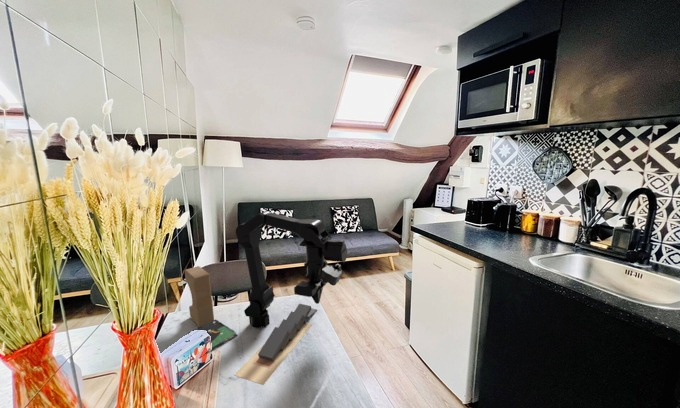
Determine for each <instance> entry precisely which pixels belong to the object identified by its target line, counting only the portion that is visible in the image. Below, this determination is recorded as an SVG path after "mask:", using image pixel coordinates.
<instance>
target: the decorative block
mask: <svg viewBox="0 0 680 408" xmlns="http://www.w3.org/2000/svg"><path fill="white" fill-rule="evenodd" d="M184 276H185V277H184V278H185V282H186V283H187V285H188V287H189V288H188V289H189V290H190V294H191V295H190V296H191V300H192V301H191V302H192V305H190V306H189V307H188V308H189V309H188V310H189V316H190V318H191V320H192V321H193V322H194V323H195V324H196V325H197V327H198V329H199V328H200V327H201V326H203V325H205V324H207V323H209V322H211V321H213V320H215V314H214V305H213V299H212V298H213V297H212V288H211V287H212V286H211V279H210V277H211V276H210V273H208V272H207V271H206V270H205V269H204V268H202V267H201V266H199V265H198V266H195V267H190V268H186V269H185V270H184Z"/></svg>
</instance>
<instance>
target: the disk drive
mask: <svg viewBox="0 0 680 408" xmlns="http://www.w3.org/2000/svg"><path fill="white" fill-rule="evenodd" d="M194 330H195V329H193V330H192V331H194ZM197 330H206V331H207V333H208V334H209V335H210V336H211V343H212V351H214V350H216V349H218V348H220V347H221V346H222V345H224V344H227V343H228V342H229V341H231V340H233V339H235V338H236V337H238V336H239V335H238V334H237V332H235V330H233V329H231V328H230V327H228V326H227V325H225V324H223V323H222V322H221V321H219V320H218V319H215V318H214V320H213V321H211V322H209V323H207V324H205V325H203V326H201V327H200V328H199V327H198V329H197ZM190 332H191V331H189V332H188V333H190Z"/></svg>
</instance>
